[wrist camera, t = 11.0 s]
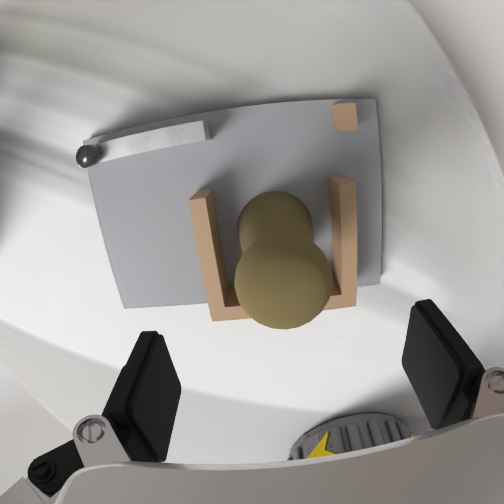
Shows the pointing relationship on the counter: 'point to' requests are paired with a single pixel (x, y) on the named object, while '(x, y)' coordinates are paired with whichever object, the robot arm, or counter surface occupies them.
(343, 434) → the decorative lamp
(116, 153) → the bar
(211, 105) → the counter surface
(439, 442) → the robot arm
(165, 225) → the dock
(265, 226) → the cork
